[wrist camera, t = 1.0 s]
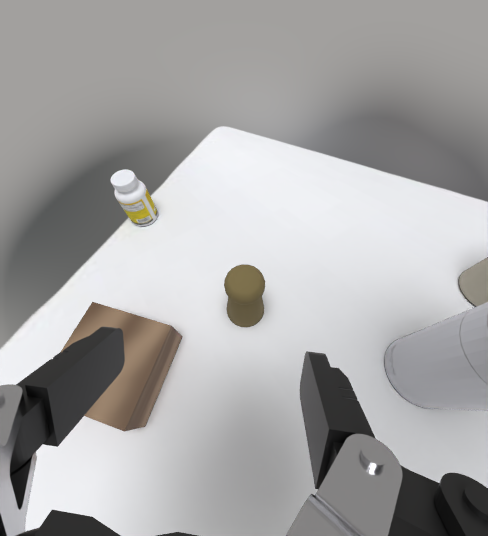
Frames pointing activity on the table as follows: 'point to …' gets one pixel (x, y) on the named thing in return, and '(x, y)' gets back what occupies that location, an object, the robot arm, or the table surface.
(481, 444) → the table surface
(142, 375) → the walnut riser
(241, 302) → the cork
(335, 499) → the robot arm
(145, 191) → the supplement bottle
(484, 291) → the travel mug
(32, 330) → the table surface
